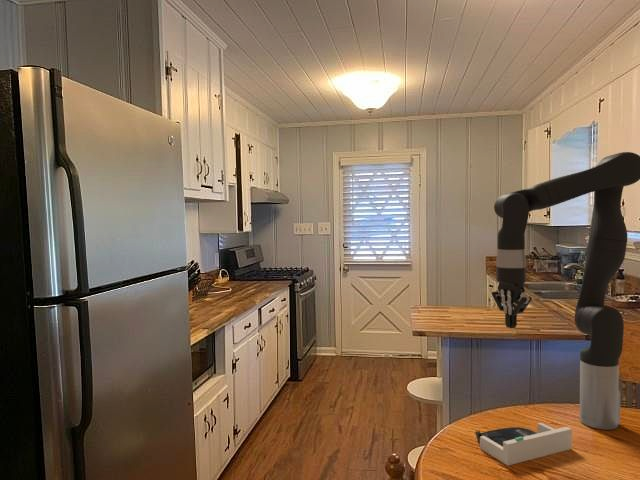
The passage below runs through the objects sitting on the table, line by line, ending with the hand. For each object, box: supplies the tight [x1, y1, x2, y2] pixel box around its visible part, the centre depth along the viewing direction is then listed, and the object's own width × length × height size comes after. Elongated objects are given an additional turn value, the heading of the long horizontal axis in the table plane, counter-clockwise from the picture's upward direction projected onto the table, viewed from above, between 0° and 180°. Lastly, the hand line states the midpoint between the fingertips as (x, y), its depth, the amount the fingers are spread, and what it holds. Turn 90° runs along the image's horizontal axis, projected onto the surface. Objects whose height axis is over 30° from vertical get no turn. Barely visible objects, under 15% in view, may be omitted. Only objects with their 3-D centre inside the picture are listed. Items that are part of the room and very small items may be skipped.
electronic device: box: [474, 426, 538, 447], centre depth 121 cm, size 9×6×15 cm
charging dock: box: [479, 422, 573, 466], centre depth 118 cm, size 20×9×6 cm, turn 112°
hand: (510, 327), depth 132 cm, fingers closed
